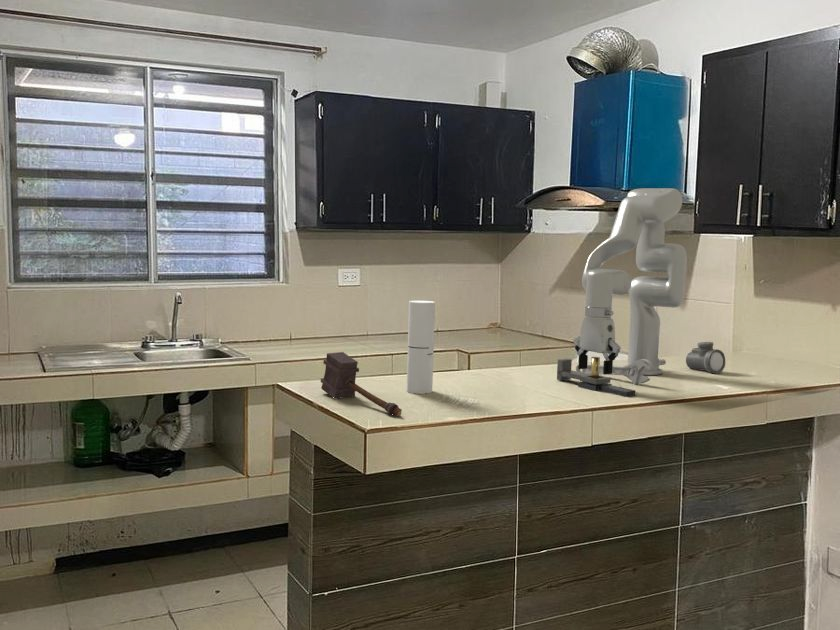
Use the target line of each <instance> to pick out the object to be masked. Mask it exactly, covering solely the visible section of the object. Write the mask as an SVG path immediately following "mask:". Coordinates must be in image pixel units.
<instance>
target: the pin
mask: <svg viewBox="0 0 840 630" xmlns="http://www.w3.org/2000/svg"><path fill="white" fill-rule="evenodd" d="M590 360H591V363H590V365H591V378H595V379H597V378H599V375H600V374H599V366H600V362H601V357H600V356H591V359H590ZM590 384H591V383H590ZM593 385H599V384H593Z"/></svg>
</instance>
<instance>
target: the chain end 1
mask: <svg viewBox="0 0 840 630" xmlns="http://www.w3.org/2000/svg"><path fill="white" fill-rule="evenodd" d="M572 362H573V360H572V359H569V358H559V359H557V365H556V366H557V369H556V380H557V381H561V382H562V381H571V379H573V380H579V382H587V383H591V384H603V383H609V384H611V377H608V376H604V375H601V374H599V378H597V379H595V378H591V374H586V373H582V371H581V372H577V371H576V370H572V365H573V364H572Z"/></svg>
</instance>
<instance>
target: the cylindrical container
mask: <svg viewBox="0 0 840 630" xmlns="http://www.w3.org/2000/svg"><path fill="white" fill-rule="evenodd" d="M435 313H436V301H431V300H417V299H416V300H409V301H408V325H407V326H408V327H407V328H408V330H407V357H406V358H407V363H406V364H407V365H406V392H407V393H409V392H410V394H415V393H416V394H420V395H425V393H427V394H431V393H433V381H434V380H433V376H434V348H435V347H434V346H435V342H434V341H435Z"/></svg>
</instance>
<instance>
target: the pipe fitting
mask: <svg viewBox="0 0 840 630" xmlns="http://www.w3.org/2000/svg"><path fill="white" fill-rule="evenodd" d="M696 346H697V347H694V348H692V349H691V351H690V352H688V353H687V354H686V357H685V365H686V366H687V367H688V369H690V370H691V369H692V370H702V371H703V370H704V371H705V370H706V371H707V372H708V373H711V374H717V375H718V374H720V373H722V372H723V371H724V369H725V366H726V356H725V354H724V352H723V351H722V350H721V349H715V348H714V342H713V341H702V342H698V343H697V345H696Z"/></svg>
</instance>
